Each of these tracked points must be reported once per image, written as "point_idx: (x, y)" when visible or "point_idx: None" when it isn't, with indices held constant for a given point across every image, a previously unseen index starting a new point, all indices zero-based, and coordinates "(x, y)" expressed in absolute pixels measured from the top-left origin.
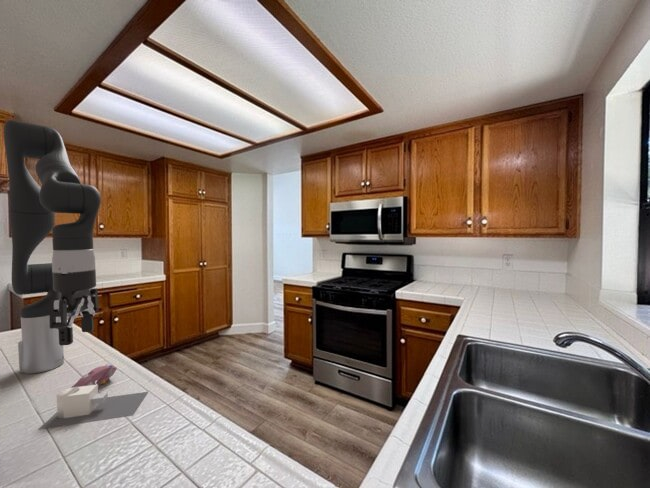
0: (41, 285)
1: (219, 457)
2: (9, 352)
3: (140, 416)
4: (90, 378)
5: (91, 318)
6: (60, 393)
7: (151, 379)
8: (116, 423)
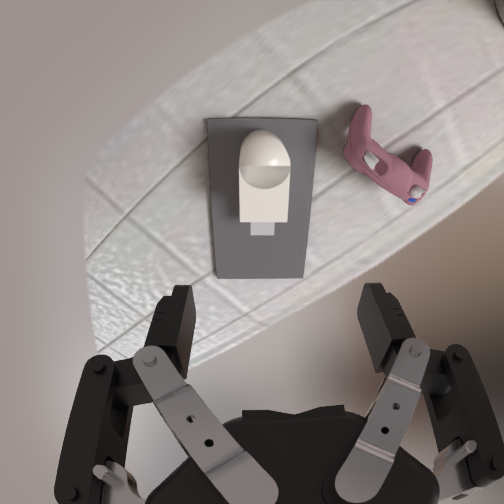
0: None
1: None
2: None
3: (217, 285)
4: (360, 171)
5: (374, 364)
6: (261, 148)
7: (368, 262)
8: (203, 255)
